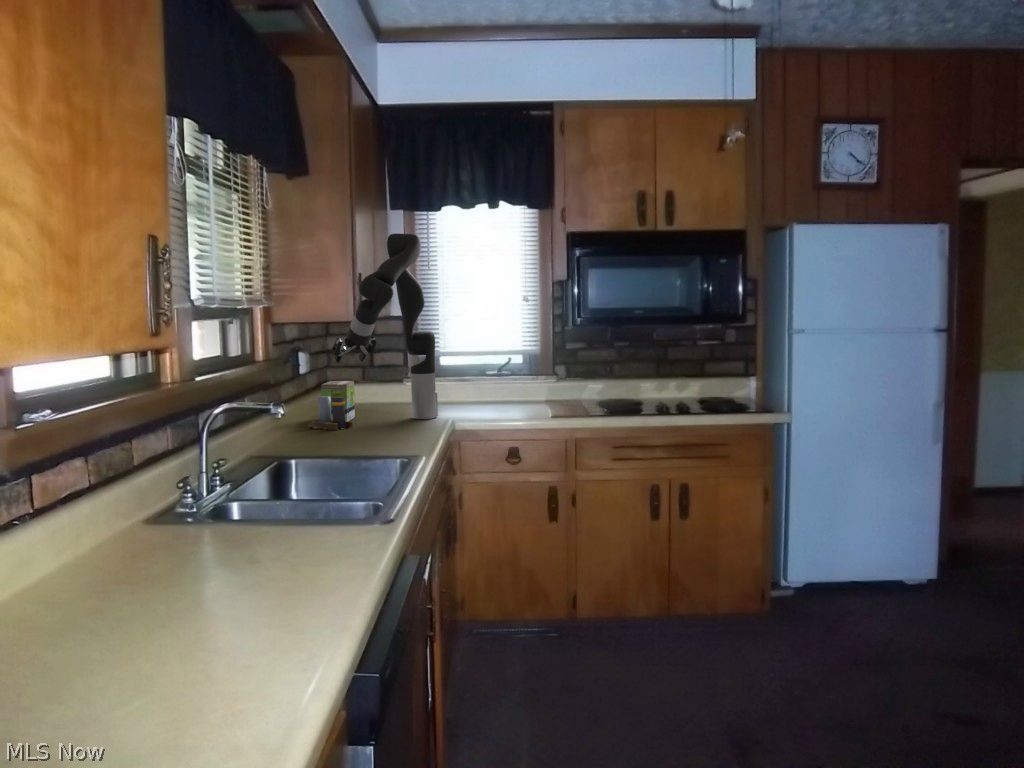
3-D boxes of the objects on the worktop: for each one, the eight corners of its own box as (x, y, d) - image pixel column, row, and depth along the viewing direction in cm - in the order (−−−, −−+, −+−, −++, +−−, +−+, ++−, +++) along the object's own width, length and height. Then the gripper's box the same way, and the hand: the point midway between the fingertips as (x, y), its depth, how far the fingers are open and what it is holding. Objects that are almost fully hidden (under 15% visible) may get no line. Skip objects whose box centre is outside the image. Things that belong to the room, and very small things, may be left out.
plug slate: (325, 425, 296) (324, 395, 295) (334, 426, 294) (333, 396, 293) (316, 427, 292) (315, 397, 291) (325, 428, 290) (323, 397, 289)
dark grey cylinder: (339, 427, 292) (338, 396, 291) (348, 428, 290) (347, 397, 289) (330, 428, 289) (328, 398, 288) (339, 429, 286) (338, 398, 285)
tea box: (348, 423, 302) (346, 383, 301) (321, 423, 302) (319, 384, 301) (355, 417, 317) (354, 379, 316) (330, 418, 317) (328, 380, 316)
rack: (325, 424, 299) (325, 418, 299) (352, 427, 291) (352, 421, 291) (309, 427, 292) (308, 421, 292) (335, 430, 284) (335, 423, 284)
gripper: (377, 318, 274) (364, 351, 284) (338, 319, 266) (325, 353, 276) (385, 334, 270) (371, 367, 280) (345, 336, 262) (332, 369, 272)
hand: (348, 360), depth 278 cm, fingers open, 8 cm apart
